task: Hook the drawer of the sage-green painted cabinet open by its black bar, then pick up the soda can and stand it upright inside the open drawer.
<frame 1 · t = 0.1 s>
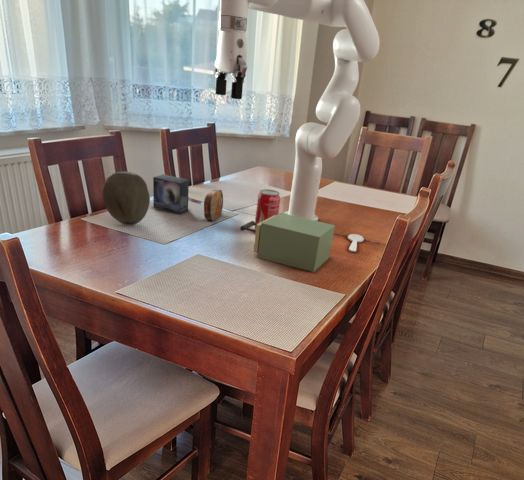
hand: (228, 96, 138), 37 cm above the table, tool pointing down, fingers open, 9 cm apart
small box: (170, 209, 165), on the table
drawer: (279, 236, 137), point 5 cm above the table, slide at 0.5 cm
cantaloupe: (127, 223, 148), on the table
cabinet: (294, 257, 137), on the table
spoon: (354, 243, 155), on the table
soda can: (264, 233, 154), on the table
tin: (212, 217, 163), on the table
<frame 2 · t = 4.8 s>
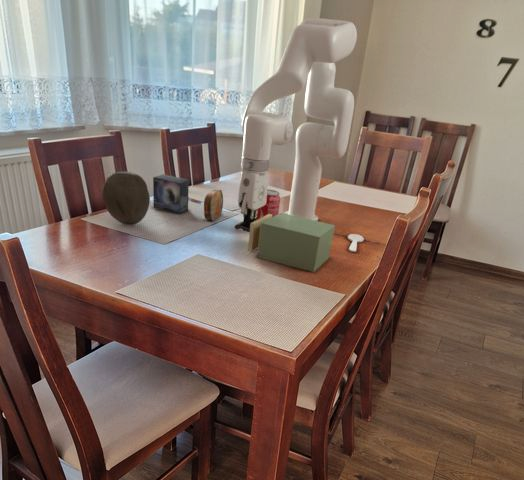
hand: (248, 231, 140), 4 cm above the table, tool pointing down, fingers closed
drawer: (273, 235, 137), point 5 cm above the table, slide at 2.3 cm, touching gripper
everything else where it was.
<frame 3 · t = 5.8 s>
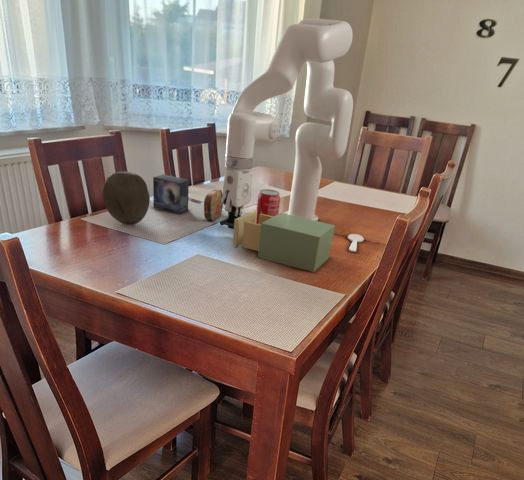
hand: (233, 228, 141), 4 cm above the table, tool pointing down, fingers closed
drawer: (257, 231, 139), point 5 cm above the table, slide at 7.3 cm, touching gripper
everything else where it was.
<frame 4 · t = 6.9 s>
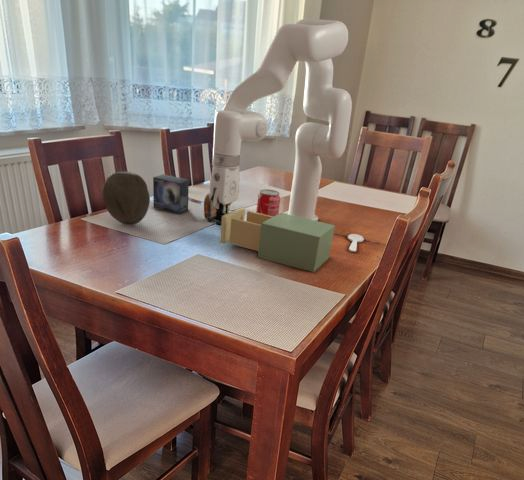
hand: (221, 225, 143), 4 cm above the table, tool pointing down, fingers closed
drawer: (245, 228, 140), point 5 cm above the table, slide at 11.3 cm, touching gripper
everything else where it was.
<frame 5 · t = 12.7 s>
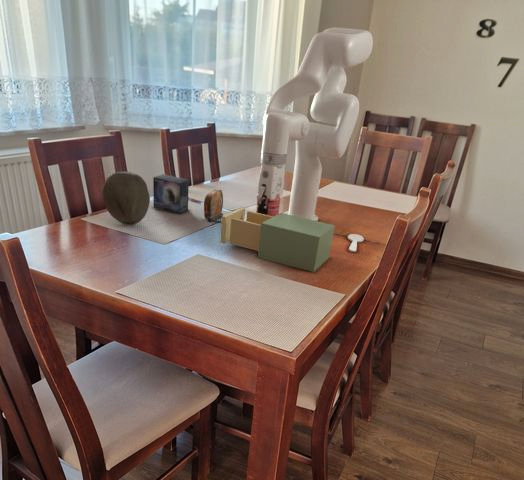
hand: (266, 217, 152), 5 cm above the table, tool pointing down, fingers closed on soda can, 7 cm apart
drawer: (245, 228, 140), point 5 cm above the table, slide at 11.3 cm
soda can: (264, 233, 154), on the table, touching gripper
everything else where it was.
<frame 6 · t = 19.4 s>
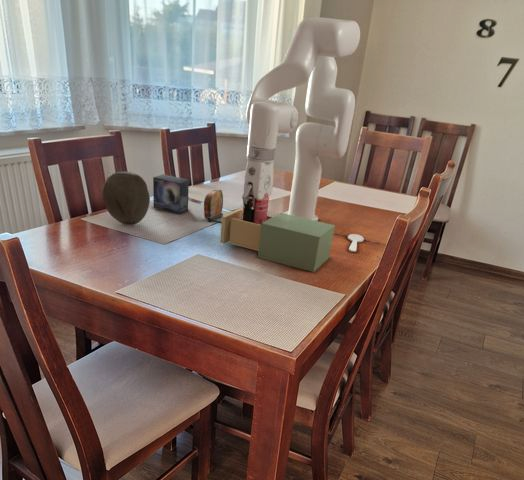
hand: (254, 219, 137), 8 cm above the table, tool pointing down, fingers closed on soda can, 7 cm apart
drawer: (245, 228, 140), point 5 cm above the table, slide at 11.3 cm, touching gripper
soda can: (252, 236, 140), point 3 cm above the table, touching gripper
everything else where it was.
when the fingers open (9 cm above the table, at t = 26.7 s): soda can drops 2 cm, resting on drawer.
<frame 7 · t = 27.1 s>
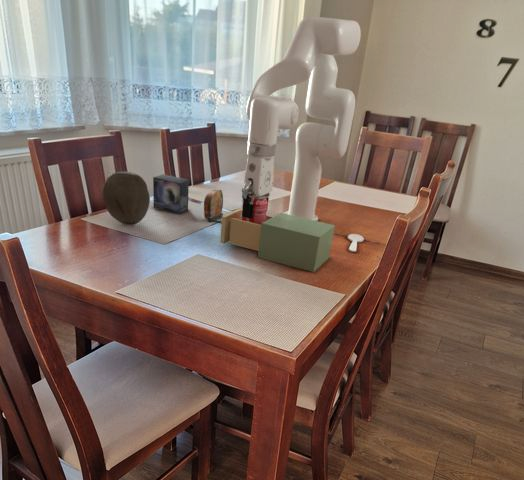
hand: (254, 213, 137), 10 cm above the table, tool pointing down, fingers open, 9 cm apart
drawer: (245, 228, 140), point 5 cm above the table, slide at 11.3 cm, touching soda can
soda can: (251, 240, 140), point 2 cm above the table, touching drawer
everything else where it was.
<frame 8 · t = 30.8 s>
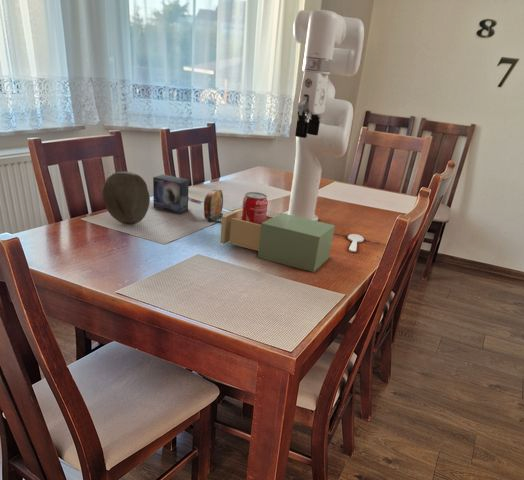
hand: (306, 135, 137), 30 cm above the table, tool pointing down, fingers open, 9 cm apart
nothing on the table moved.
at the end: drawer slide at 11.3 cm; soda can inside the target area in the drawer (0.2 cm from its centre), point 1.9 cm above the cabinet's base; soda can tilted 0° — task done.
